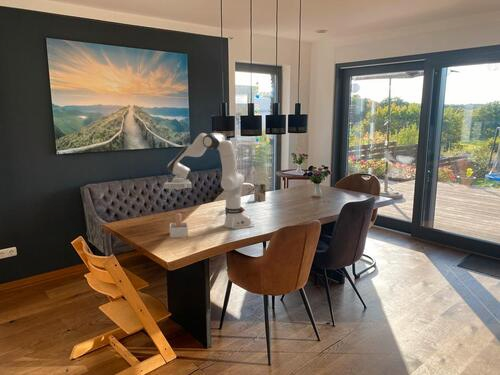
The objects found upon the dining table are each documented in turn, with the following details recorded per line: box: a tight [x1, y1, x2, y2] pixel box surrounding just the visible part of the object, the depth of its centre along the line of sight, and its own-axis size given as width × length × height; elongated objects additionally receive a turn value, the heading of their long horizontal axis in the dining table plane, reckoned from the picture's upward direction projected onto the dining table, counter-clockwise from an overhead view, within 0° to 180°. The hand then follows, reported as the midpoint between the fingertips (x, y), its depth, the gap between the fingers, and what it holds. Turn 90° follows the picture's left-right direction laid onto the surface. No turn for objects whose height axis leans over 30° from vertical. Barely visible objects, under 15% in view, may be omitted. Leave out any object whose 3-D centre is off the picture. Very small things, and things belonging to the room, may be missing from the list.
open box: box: [169, 222, 189, 239], centre depth 266 cm, size 12×12×7 cm
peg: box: [174, 212, 183, 228], centre depth 265 cm, size 4×4×14 cm
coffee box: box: [253, 183, 266, 203], centre depth 364 cm, size 9×6×16 cm
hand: (177, 187), depth 278 cm, fingers open, 8 cm apart
